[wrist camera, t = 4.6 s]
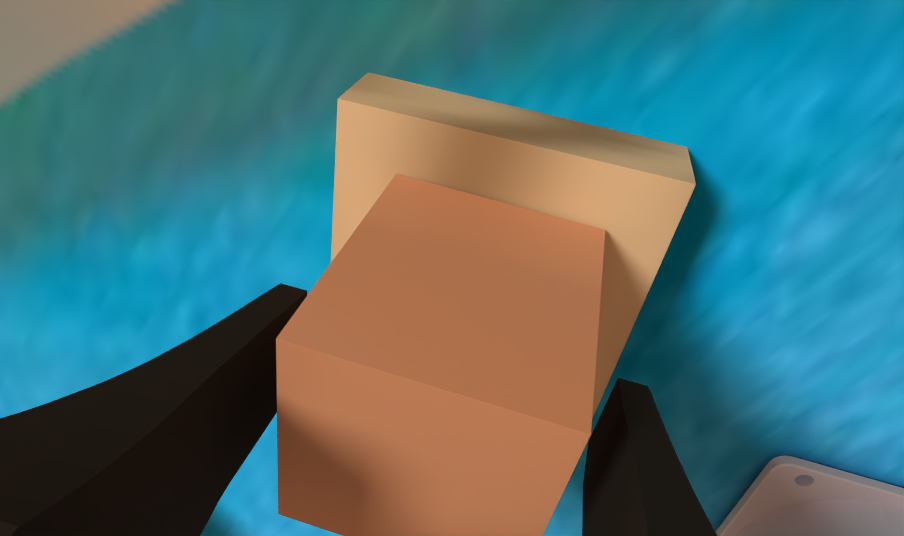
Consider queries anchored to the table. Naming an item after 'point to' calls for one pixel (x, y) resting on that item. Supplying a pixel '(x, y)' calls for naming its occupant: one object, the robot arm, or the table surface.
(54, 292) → the table surface
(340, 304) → the terracotta block
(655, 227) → the maple slab
